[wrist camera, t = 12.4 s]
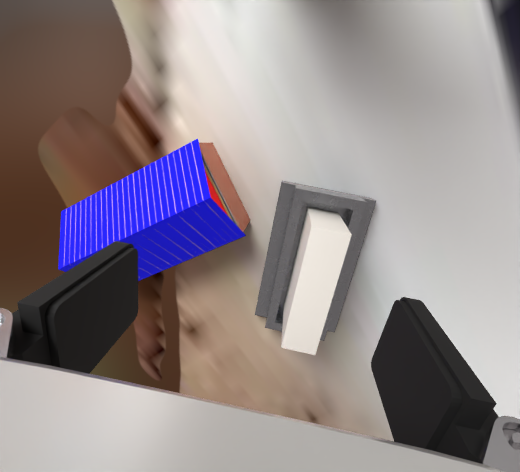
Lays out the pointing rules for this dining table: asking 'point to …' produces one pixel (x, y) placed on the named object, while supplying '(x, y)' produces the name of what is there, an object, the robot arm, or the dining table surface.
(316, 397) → the dining table surface
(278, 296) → the grey holder tray
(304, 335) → the white block
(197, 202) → the blue shipping container
